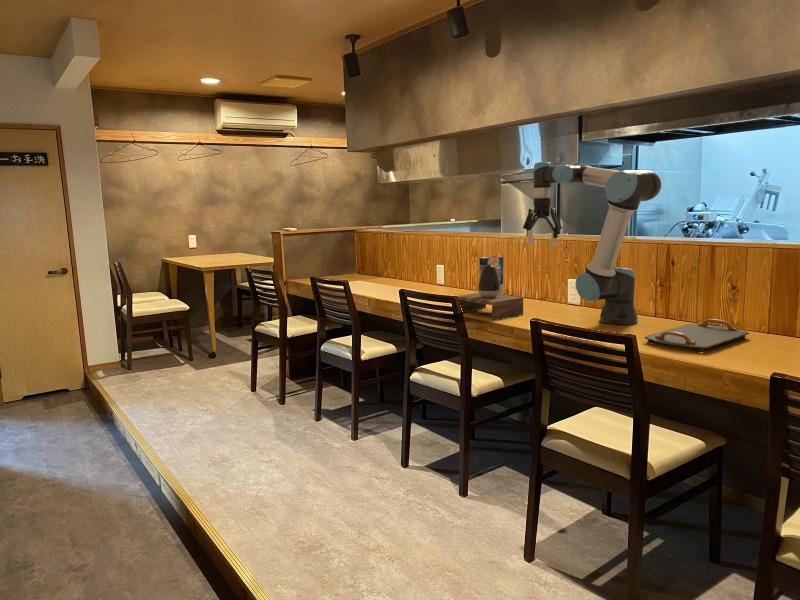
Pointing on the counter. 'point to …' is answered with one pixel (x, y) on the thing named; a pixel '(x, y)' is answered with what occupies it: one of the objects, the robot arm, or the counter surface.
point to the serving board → (698, 335)
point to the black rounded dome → (489, 282)
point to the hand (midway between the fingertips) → (541, 245)
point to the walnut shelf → (493, 304)
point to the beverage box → (498, 265)
